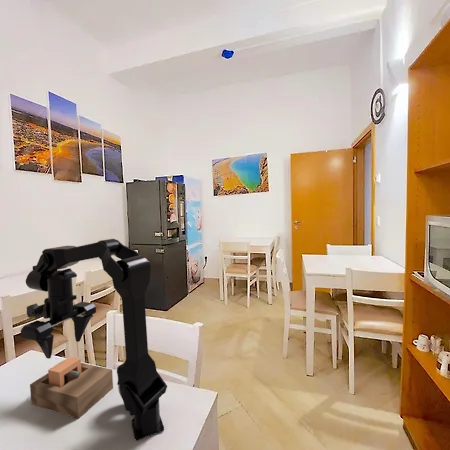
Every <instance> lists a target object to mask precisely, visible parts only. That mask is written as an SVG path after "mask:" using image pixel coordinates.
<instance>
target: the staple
mask: <svg viewBox="0 0 450 450" xmlns="http://www.w3.org/2000/svg"><path fill="white" fill-rule="evenodd" d="M81 360H82V359H81V358H78V357H74V356H68V357H67V358H65V359H64V360H62V361H60V362H59V363H56V364H55V365H53V366H52V367H51V368H49V369H48V370H47V371H48V372H47V373H48V375H49V385H52V386H56V387H60V388H61V387H63V386H64V375H65V374H67V373H68V372H70V371H71V370H73V371H77V372H80V374H81V363H82V361H81ZM67 377H68V376H67ZM73 379H74V378H72V377H68V381H71V380H73Z"/></svg>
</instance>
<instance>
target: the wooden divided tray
mask: <svg viewBox="0 0 450 450" xmlns="http://www.w3.org/2000/svg"><path fill="white" fill-rule="evenodd" d="M67 376H68V377H72V378H74V379H73V380H71V381H68V377H67ZM113 376H114V375H113V369H111V368H107V367H103V366H98V365H92V364H89V363H83V362H81V374H80V372H77V371H73V370H71V371H70V372H68V373H67V374H65V375H64V386H63V387H61V388H60V387H56V386H52V385H49V375H48V372H47V373H46V374H45V375H43V376H40V377H39V378H38V379H36V380H35V381H33V382H32V383H29V388H30V389H29V390H30V404H31V405H32V406H35V407H39V408H42V409H46V410H48V411H51V412H54V413H55V412H56V413H59V414H62V415H65V416H69V417H72V418H75V419H77V420H78V419H80V418H82V416H84V415H85V414H86V413H87V412H88V411H89V410H90V409H92V408H93V407H94V406H95V405H96V404H97V403H99V401H100V400H102V399H103V398H104V397H105V396H106V395H107V394H109V393H110V392H111V391H112V390H113V389H114V380H113V379H114V378H113Z"/></svg>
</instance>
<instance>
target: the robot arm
mask: <svg viewBox="0 0 450 450" xmlns="http://www.w3.org/2000/svg"><path fill="white" fill-rule="evenodd" d="M41 253H42V254H41V255H40V256H39V259H38V261H37V263H36V265H32V270H31V271H30V272H28V274H27V276H26V279H25V284H26V286H27V287H28V289H31V290H36V291H41V292H45V293H46V292H47V295H48V296H47V297H46V298H44V300H43V304H40V305H38V303H33V304H30V305H27V306H26V314H27V318H29V319H31V318H34V319H35V320H33V321H32V322H30V323H27V324H25V325H23V326H22V327H21V329H20V337H21V338H22V339H25V340H26V339H27V340H31V341H35V342H36V343H37V344H38V346H39V347H40V349H41V351H42V352H43V354H44V357H45V358H46V359H51V358H52V354H53V344H54V336H55V334H52V332H53V330H54V329H53V327H56V326H58V325H60V324H62V323H65V322H67V321H68V320H72V322H73V328H74V329H73V330H74V338H75V341H76V343H79V342H80V341H81V339H82V337H83V335H84V333H85V330H86V328H87V327H88V324H89V322H90V320H91V319H92V318H93V317H94V314H96V313H97V307H96V305H95V304H94V303H93V302H86V301H80V302H78V303H75V304H74V300H77V299H78V297H77V295H76V294H73V293H74V292H73V290H74V289H73V278H76V277H78V274H77V273H76V272H75V271H73V270H72V268H68V267H72V266H74V265H76V264H78V263H79V262H81V261H87V260H92V259H98V258H99V259H100V261H101V264H102V270H103V271H104V272H105V273H106V274H107V275H108V276H109V277H110V278H111V280H112V286H113V288H114V290H115V291H116V292H117V294H118V295H119V296H120V298H121V303H122V304H121V305H122V317H123V318H122V320H123V333H124V335H123V336H124V348H125V361H124V362H123V363H121V364H120V365H118V366H117V369H116V373H117V374H116V375H117V384H116V385H117V386H118V385H119V388H120V392H121V396H122V398H121V399H122V401H123V406H124V409H125V411H128V412H129V414H130V416H133V418H132V419H131V422H130V423H131V426H132V427H131V428H132V431H133V432H132V433H133V436H134V440H135V441H139V440H142V439H144V438H147V437H150V436H154V435H155V434H159V433H161V432H163V431H164V430H165V426H164V423H163V420H162V417H161V414H160V412H161V411H160V398H161V397H162V396H163V395H165V393H166V392H167V388H168V385H167V383H166V381H164V379H163V378H162V376H161V375H160V374H159V372H158V371H157V370H158V369H157V366H156V361H155V360H154V359H153V358H152V356H151V355H150V354H149V348H148V347H149V346H148V331H147V328H148V327H147V314H146V313H147V312H146V302H145V297H146V296H145V294H146V292H147V289H148V286H149V283H150V281H151V271H152V270H151V263H150V261H149V260H148V259H147V258H146V257H144V256H143V255H141V254H140V253H139V252H138V251H137V250H135V249H132V248H130V247H129V246H127V245H124V244H122V243H121V241H119V239H115V238H107V239H101V240H98V241H97V242H92V243H88V244H84V245H79V246H75V245H62V246H57V247H55V246H54V247H50V248H45V249H43V250H42V252H41ZM112 256H114V257H116V258H118V260H117V261H116V260H115V259H114V258H113V257H112ZM41 317H42V319H45V320H47V319H49V320H47V321H42V320H38V319H40V318H41ZM121 396H120V397H121Z"/></svg>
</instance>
